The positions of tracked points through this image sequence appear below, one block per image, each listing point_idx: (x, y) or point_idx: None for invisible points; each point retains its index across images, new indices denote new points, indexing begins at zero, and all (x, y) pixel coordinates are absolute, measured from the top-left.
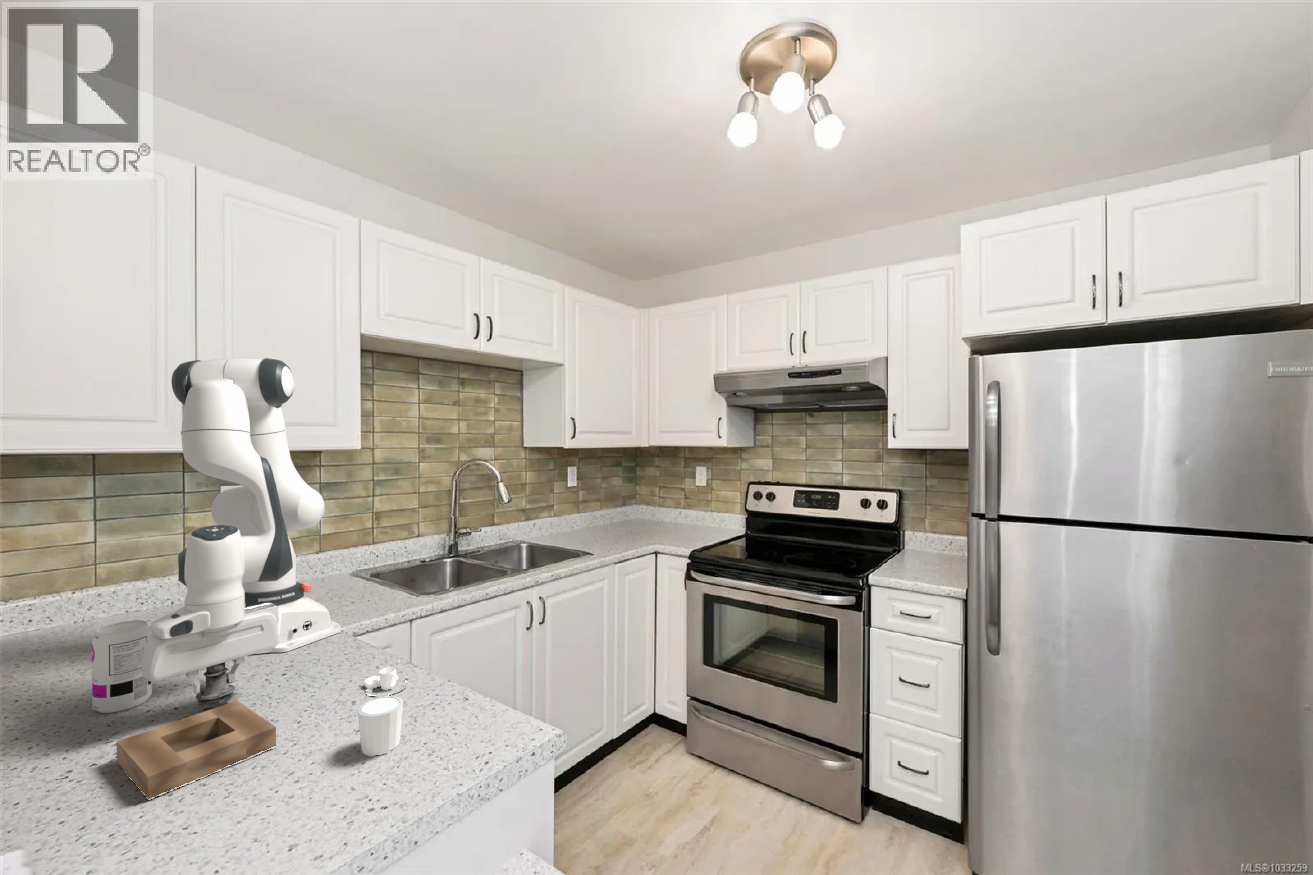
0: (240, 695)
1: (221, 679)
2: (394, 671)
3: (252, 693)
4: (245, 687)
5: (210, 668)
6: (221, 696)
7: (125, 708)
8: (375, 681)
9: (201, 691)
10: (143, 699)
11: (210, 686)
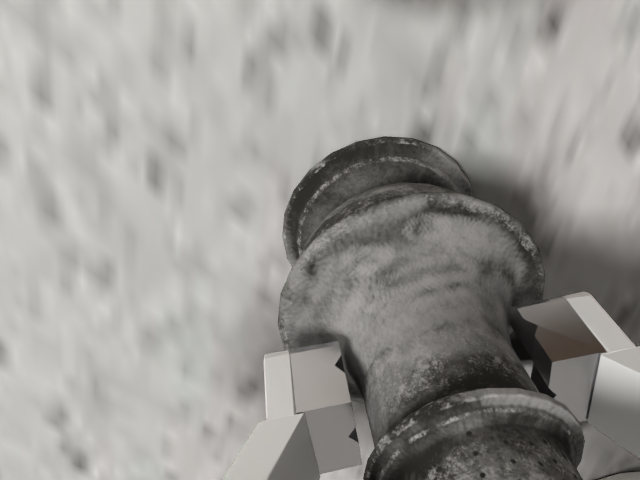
0: (225, 352)
1: (423, 357)
2: None
3: (161, 339)
4: (191, 430)
5: None
6: (406, 198)
7: (631, 477)
8: None
9: (550, 301)
10: None
11: (496, 322)
